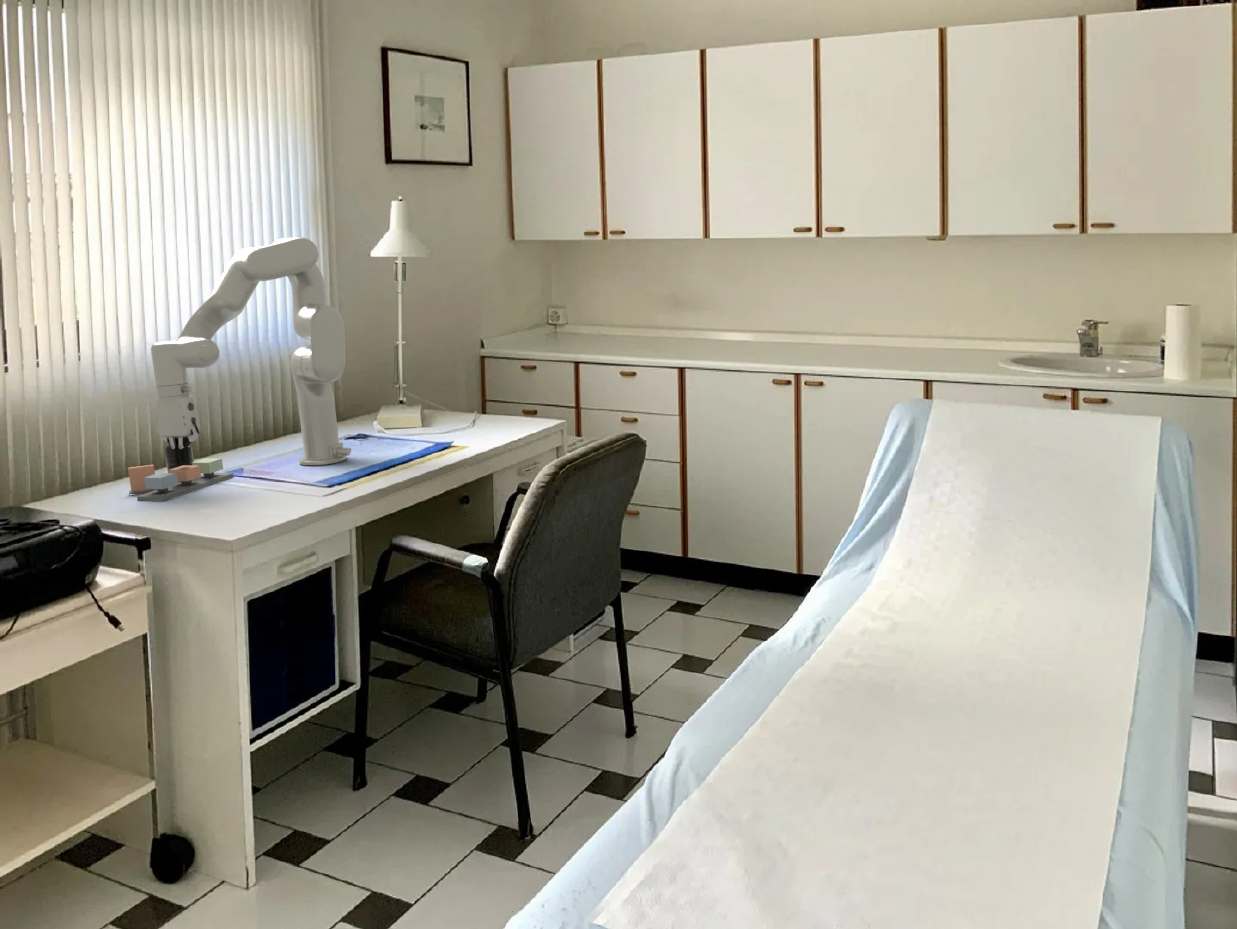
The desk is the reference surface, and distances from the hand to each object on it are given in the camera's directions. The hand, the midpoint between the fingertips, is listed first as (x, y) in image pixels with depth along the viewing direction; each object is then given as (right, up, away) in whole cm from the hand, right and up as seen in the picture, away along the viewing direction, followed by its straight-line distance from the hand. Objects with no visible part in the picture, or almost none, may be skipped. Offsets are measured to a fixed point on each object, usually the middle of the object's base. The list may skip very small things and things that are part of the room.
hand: (182, 463), depth 294 cm
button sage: (+3, -3, +9) cm, 10 cm away
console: (+1, -6, +1) cm, 6 cm away
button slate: (-2, -7, -7) cm, 10 cm away
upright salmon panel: (-10, -7, 0) cm, 12 cm away
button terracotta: (0, -5, +1) cm, 5 cm away
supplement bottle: (-5, -4, +14) cm, 16 cm away
